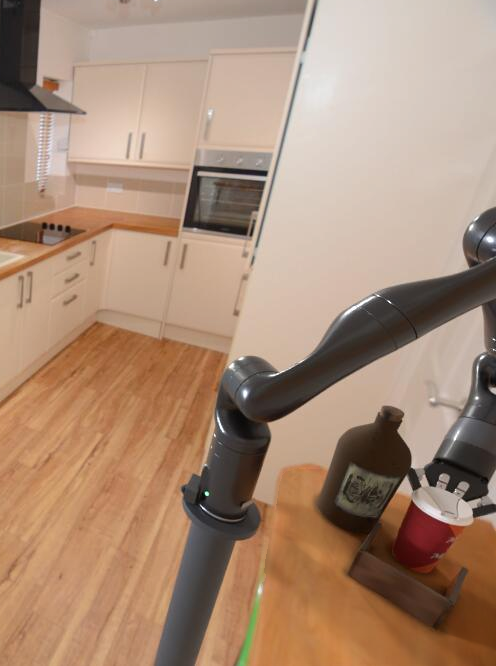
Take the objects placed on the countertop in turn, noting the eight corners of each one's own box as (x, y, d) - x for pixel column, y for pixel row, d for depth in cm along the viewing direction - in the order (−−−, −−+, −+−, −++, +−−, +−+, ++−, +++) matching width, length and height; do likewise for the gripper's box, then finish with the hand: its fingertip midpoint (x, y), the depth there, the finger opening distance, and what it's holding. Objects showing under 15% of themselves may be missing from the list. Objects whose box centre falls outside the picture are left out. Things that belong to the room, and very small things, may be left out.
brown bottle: (311, 486, 97) (351, 387, 86) (373, 505, 92) (424, 403, 82) (315, 522, 89) (360, 417, 78) (383, 545, 84) (442, 437, 73)
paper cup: (445, 586, 77) (484, 527, 71) (388, 565, 80) (420, 507, 74) (433, 551, 83) (467, 493, 77) (380, 533, 86) (409, 477, 80)
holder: (346, 573, 79) (358, 550, 76) (365, 544, 84) (377, 521, 82) (437, 630, 70) (454, 605, 68) (452, 593, 76) (468, 569, 73)
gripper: (426, 425, 85) (381, 505, 84) (530, 464, 76) (482, 555, 74) (422, 436, 90) (380, 511, 89) (519, 473, 81) (474, 559, 79)
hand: (427, 531), depth 82 cm, fingers closed
